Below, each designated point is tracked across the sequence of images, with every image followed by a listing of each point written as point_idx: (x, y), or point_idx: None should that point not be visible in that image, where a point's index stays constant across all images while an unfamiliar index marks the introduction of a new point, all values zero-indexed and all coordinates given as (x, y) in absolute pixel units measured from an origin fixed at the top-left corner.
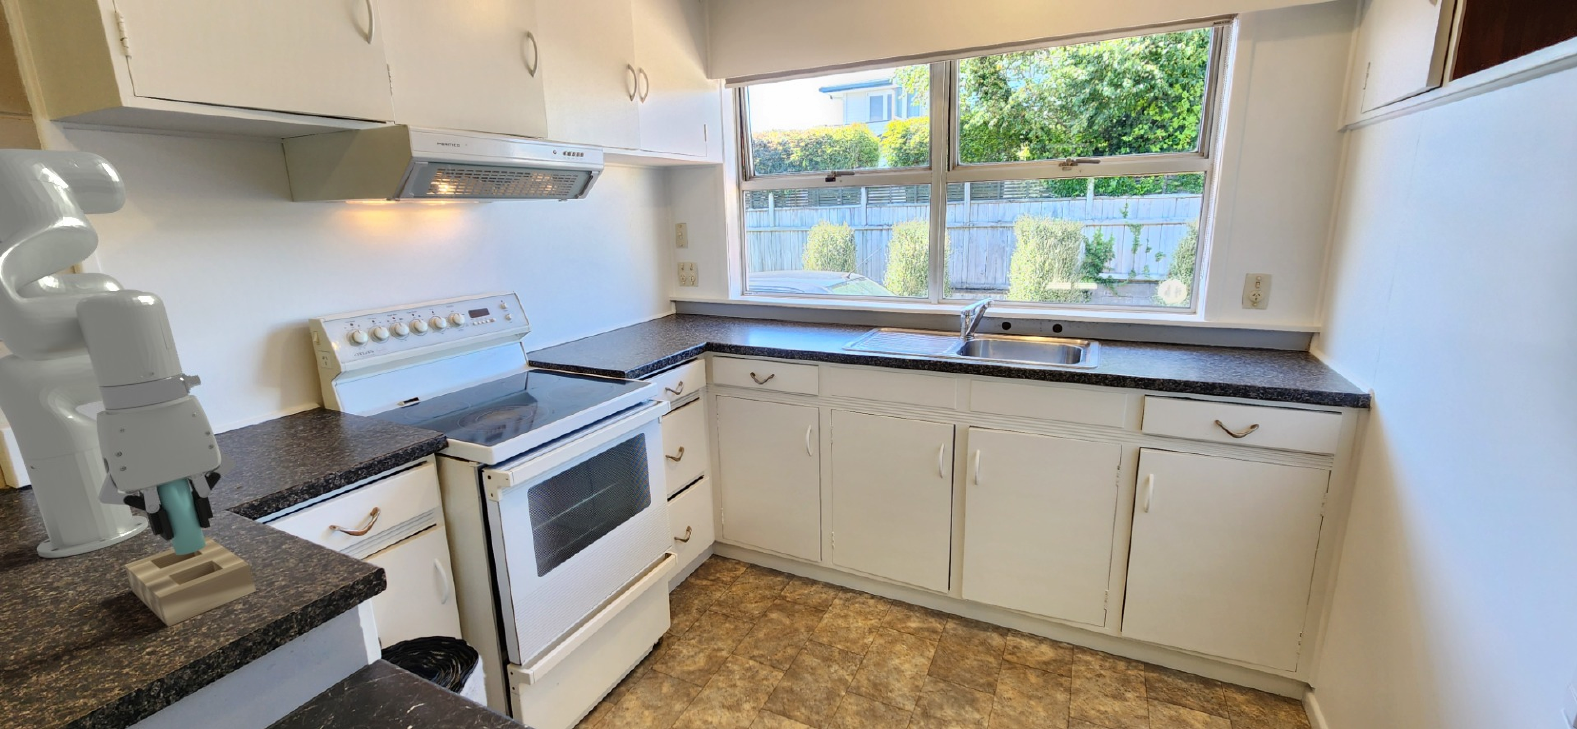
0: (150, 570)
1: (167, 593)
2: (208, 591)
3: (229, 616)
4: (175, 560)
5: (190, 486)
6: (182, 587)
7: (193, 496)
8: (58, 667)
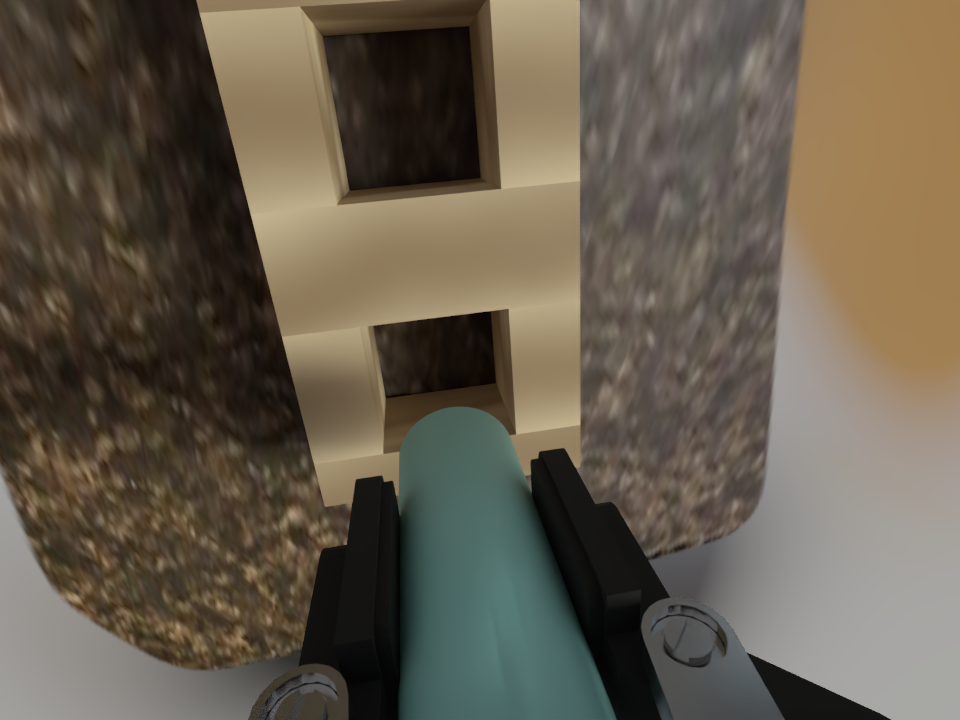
0: (300, 182)
1: (347, 492)
2: None
3: None
4: (402, 9)
5: (664, 705)
6: None
7: (611, 688)
8: (88, 437)
